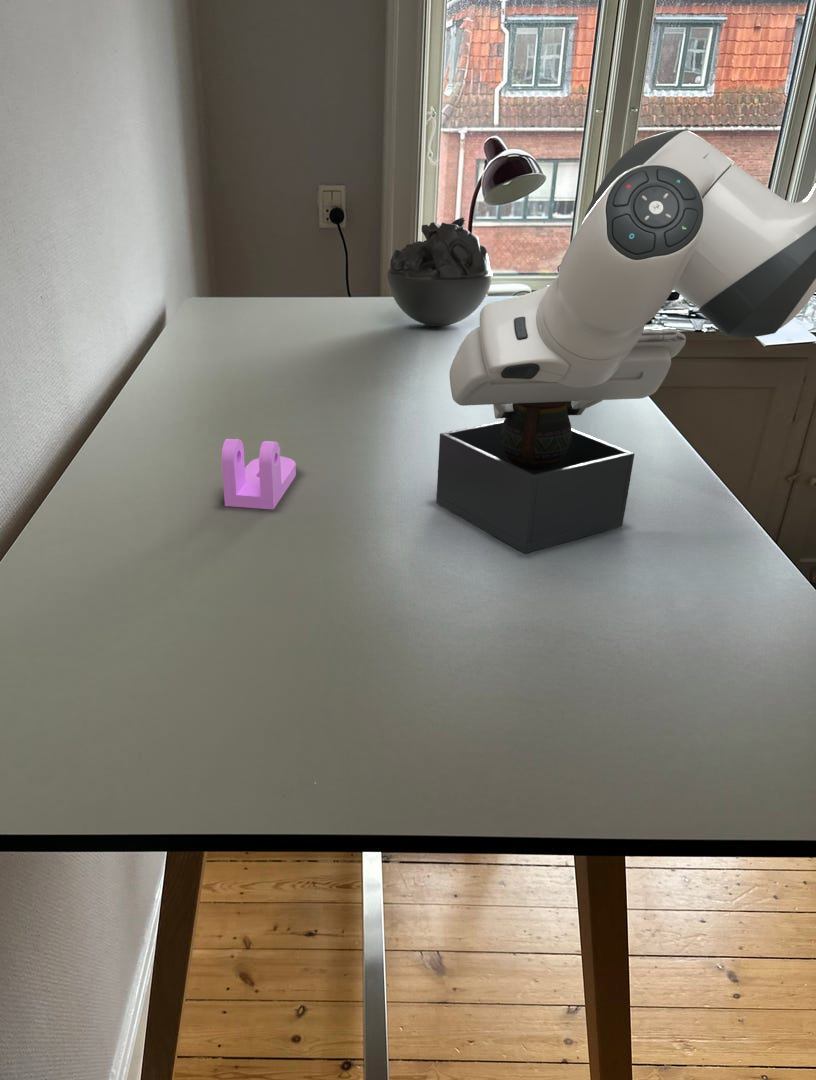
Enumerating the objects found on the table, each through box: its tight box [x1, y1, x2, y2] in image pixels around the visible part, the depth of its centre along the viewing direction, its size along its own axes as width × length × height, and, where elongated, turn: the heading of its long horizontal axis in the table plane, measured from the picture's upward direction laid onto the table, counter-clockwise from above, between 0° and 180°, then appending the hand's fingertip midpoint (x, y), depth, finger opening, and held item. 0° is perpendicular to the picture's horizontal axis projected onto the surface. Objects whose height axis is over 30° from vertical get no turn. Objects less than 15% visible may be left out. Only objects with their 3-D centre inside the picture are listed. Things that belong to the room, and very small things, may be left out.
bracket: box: [221, 438, 297, 511], centre depth 105 cm, size 13×6×7 cm, turn 169°
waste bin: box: [435, 420, 635, 554], centre depth 97 cm, size 13×15×8 cm
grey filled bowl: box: [387, 217, 494, 327], centre depth 175 cm, size 20×20×19 cm
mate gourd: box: [501, 401, 572, 470], centre depth 94 cm, size 7×8×10 cm
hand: (536, 410), depth 94 cm, fingers closed on mate gourd, 6 cm apart
